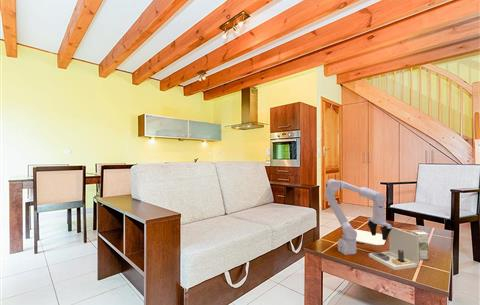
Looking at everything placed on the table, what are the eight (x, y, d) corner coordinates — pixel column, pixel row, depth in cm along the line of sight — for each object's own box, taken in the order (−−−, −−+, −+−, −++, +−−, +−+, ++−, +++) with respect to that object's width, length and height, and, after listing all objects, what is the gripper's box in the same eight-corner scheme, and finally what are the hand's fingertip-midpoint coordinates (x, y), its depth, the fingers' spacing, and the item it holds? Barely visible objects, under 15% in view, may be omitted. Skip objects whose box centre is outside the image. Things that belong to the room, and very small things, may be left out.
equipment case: (394, 272, 111) (394, 238, 111) (368, 258, 126) (368, 228, 127) (419, 268, 114) (418, 235, 115) (391, 255, 130) (390, 226, 130)
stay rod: (401, 265, 115) (401, 251, 115) (397, 263, 117) (396, 250, 118) (405, 265, 116) (404, 251, 116) (400, 263, 118) (400, 249, 118)
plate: (383, 249, 139) (383, 245, 139) (340, 240, 155) (340, 236, 155) (387, 238, 159) (387, 235, 159) (349, 231, 174) (349, 228, 174)
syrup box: (420, 255, 130) (419, 229, 130) (429, 260, 124) (428, 233, 124) (410, 255, 130) (409, 230, 130) (418, 260, 124) (418, 233, 124)
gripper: (395, 216, 123) (396, 241, 123) (374, 210, 138) (374, 232, 137) (385, 217, 122) (385, 242, 122) (364, 210, 136) (364, 233, 136)
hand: (379, 237), depth 129 cm, fingers open, 7 cm apart
